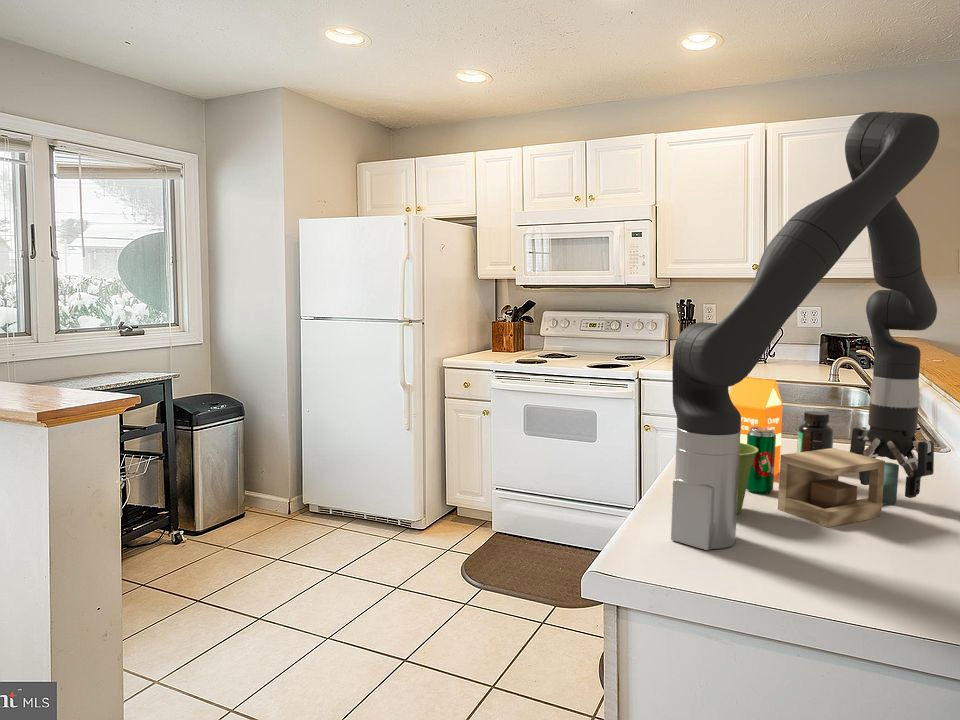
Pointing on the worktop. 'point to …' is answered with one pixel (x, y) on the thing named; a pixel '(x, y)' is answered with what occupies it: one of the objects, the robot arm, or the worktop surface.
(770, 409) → the orange juice
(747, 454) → the plant pot
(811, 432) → the supplement bottle
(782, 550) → the worktop surface
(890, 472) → the tethered block
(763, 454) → the soda can
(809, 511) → the box
